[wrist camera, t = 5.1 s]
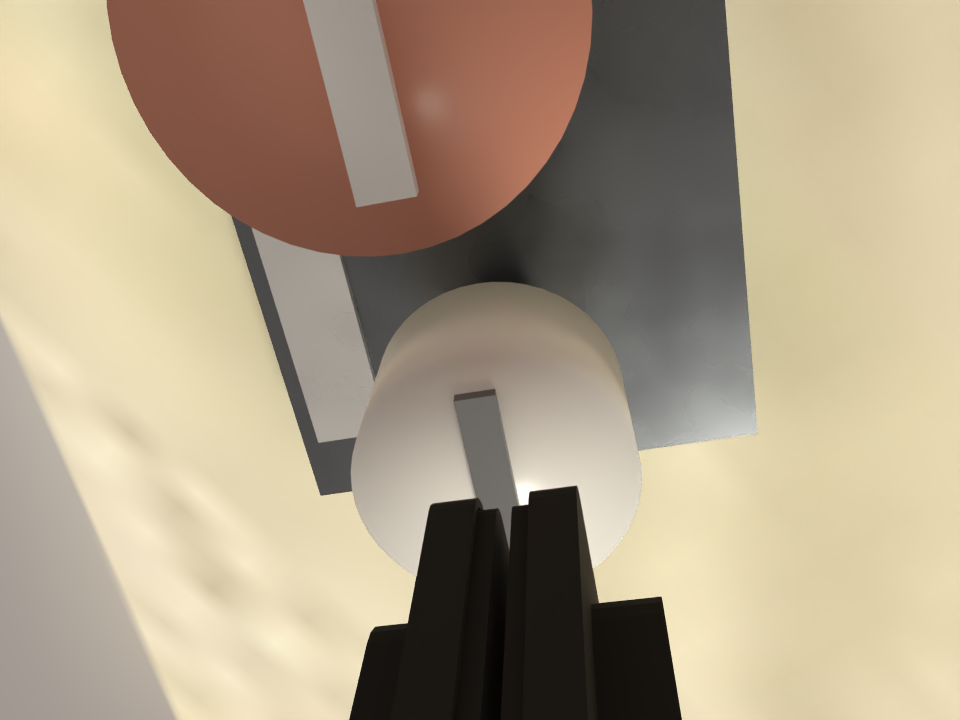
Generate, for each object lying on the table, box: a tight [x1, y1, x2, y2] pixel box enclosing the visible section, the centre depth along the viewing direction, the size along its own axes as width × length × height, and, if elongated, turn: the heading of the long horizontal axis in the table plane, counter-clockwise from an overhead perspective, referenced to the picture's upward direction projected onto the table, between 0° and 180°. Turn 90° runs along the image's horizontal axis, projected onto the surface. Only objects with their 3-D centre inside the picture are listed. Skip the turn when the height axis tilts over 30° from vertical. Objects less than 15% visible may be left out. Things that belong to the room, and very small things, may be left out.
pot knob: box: [107, 0, 592, 257], centre depth 11 cm, size 4×4×5 cm
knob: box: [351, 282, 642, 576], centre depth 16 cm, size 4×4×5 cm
